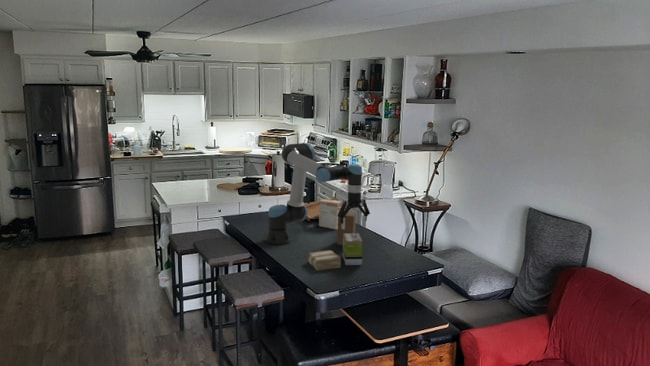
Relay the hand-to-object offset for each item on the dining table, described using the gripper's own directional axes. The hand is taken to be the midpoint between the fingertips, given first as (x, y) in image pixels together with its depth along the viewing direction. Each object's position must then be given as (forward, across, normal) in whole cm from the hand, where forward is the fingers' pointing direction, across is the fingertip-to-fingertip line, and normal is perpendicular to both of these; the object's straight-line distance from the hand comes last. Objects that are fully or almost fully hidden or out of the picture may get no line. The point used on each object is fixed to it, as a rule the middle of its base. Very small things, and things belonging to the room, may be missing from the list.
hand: (353, 227), depth 291 cm
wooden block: (+20, +12, +30) cm, 38 cm away
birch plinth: (+20, -18, 0) cm, 27 cm away
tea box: (+20, 0, 0) cm, 21 cm away
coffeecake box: (+20, +19, +68) cm, 74 cm away
